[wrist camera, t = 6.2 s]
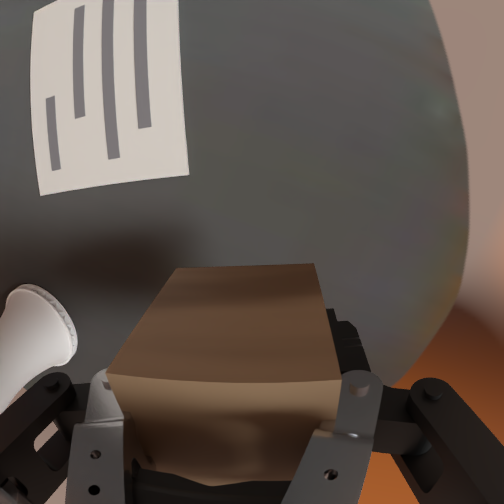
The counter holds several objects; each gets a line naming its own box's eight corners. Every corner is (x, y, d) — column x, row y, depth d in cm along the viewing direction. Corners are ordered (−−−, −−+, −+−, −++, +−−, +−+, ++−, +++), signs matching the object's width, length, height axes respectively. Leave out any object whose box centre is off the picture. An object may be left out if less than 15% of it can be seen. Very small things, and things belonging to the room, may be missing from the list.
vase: (30, 266, 21) (-57, 331, 11) (93, 337, 23) (27, 426, 13) (3, 310, 23) (-64, 371, 14) (56, 370, 25) (2, 443, 15)
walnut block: (176, 267, 12) (104, 373, 6) (313, 263, 11) (341, 379, 6) (196, 371, 14) (160, 484, 8) (311, 371, 13) (321, 492, 8)
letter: (35, 12, 14) (33, 12, 14) (177, -40, 13) (176, -41, 13) (42, 195, 19) (39, 196, 18) (189, 174, 18) (188, 175, 17)
